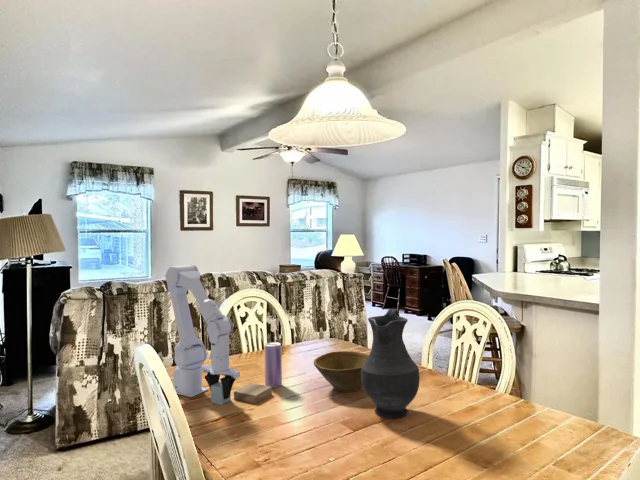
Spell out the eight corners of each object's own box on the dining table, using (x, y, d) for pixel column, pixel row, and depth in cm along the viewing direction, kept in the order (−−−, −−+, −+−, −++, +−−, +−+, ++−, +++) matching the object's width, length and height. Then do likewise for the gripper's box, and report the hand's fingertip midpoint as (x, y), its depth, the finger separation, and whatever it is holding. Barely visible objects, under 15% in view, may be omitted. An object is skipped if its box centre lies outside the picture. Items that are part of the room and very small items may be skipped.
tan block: (233, 400, 144) (233, 391, 144) (250, 391, 152) (250, 383, 152) (256, 404, 140) (255, 395, 140) (271, 395, 148) (271, 386, 148)
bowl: (304, 382, 159) (304, 355, 159) (359, 374, 168) (359, 348, 168) (329, 403, 139) (328, 372, 139) (390, 392, 148) (390, 363, 148)
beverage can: (279, 389, 153) (278, 346, 153) (262, 388, 154) (262, 345, 154) (283, 383, 159) (283, 342, 159) (268, 382, 160) (267, 341, 160)
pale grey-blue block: (211, 402, 141) (210, 385, 141) (220, 397, 145) (220, 381, 145) (221, 404, 139) (221, 387, 139) (230, 400, 143) (230, 383, 143)
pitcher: (355, 419, 127) (353, 316, 126) (371, 394, 146) (370, 305, 146) (415, 427, 121) (414, 319, 120) (424, 401, 140) (423, 307, 140)
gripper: (194, 355, 142) (195, 397, 142) (229, 361, 135) (230, 404, 135) (209, 350, 148) (210, 390, 148) (243, 355, 141) (244, 397, 142)
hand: (220, 396), depth 142 cm, fingers closed on pale grey-blue block, 4 cm apart
